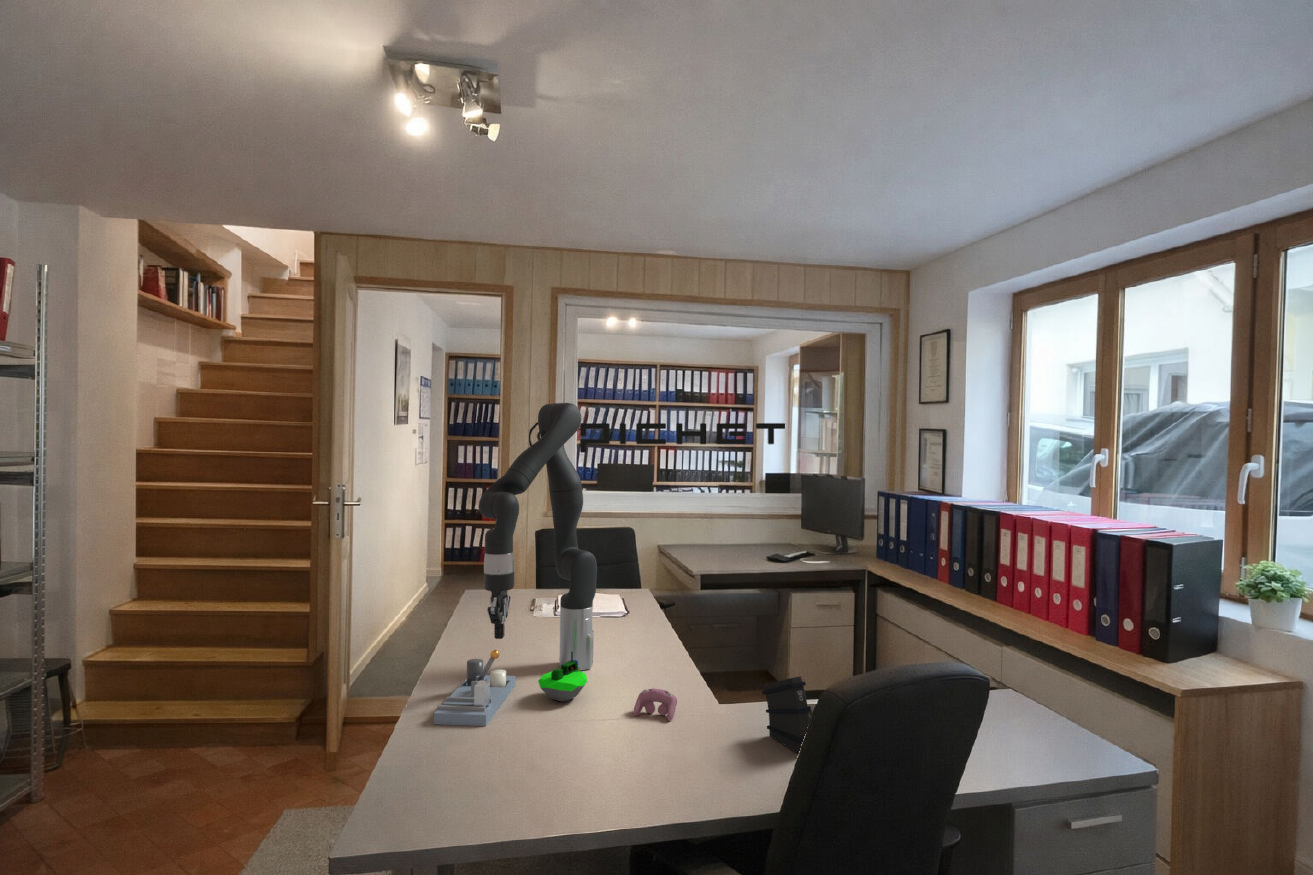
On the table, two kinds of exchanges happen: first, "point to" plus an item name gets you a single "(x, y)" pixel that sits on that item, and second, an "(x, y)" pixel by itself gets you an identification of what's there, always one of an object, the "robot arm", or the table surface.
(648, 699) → the video game controller
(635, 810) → the table surface
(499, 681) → the button
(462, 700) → the panel
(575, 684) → the green floating island model
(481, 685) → the slider knob
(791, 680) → the magazine
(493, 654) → the toggle lever
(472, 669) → the button
